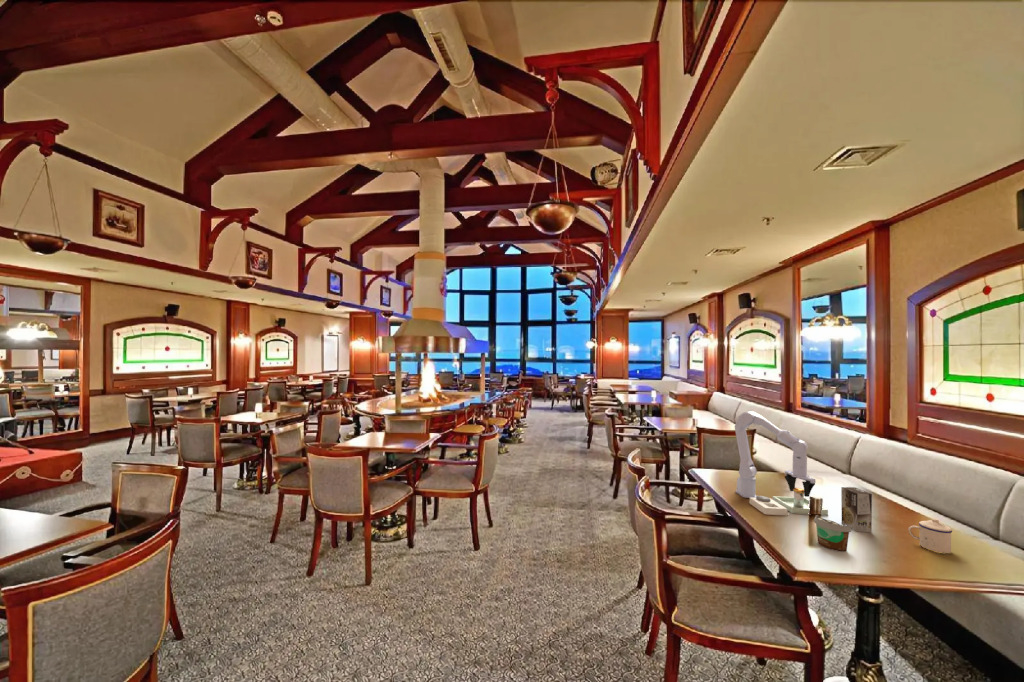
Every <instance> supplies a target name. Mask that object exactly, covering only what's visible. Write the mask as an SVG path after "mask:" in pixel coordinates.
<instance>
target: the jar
mask: <svg viewBox="0 0 1024 682" xmlns="http://www.w3.org/2000/svg"><path fill="white" fill-rule="evenodd" d="M792 492H793V497H794V505H793V506H794V507H796V508H803V507H804V498H805V496H804V488H801V487H795V488H793V491H792Z"/></svg>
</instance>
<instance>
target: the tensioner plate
mask: <svg viewBox="0 0 1024 682" xmlns="http://www.w3.org/2000/svg"><path fill="white" fill-rule="evenodd" d="M749 504H750V505H752V507H754V508H756V510H758V511H760V512H761V513H762V514H764V515H769V516H771V515H772V516H788V509H787V508H785V507H783V506H782V505H780V504H779V503H777V502H775V501H774V500H773V498H770V497H768V496H764V495H756V498H753V497H750V498H749Z"/></svg>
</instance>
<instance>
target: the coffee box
mask: <svg viewBox="0 0 1024 682" xmlns="http://www.w3.org/2000/svg"><path fill="white" fill-rule="evenodd" d="M840 494H841V495H840V496H841V525H843V526H850V528H851V530H854V531H856V532H861V533H863V532H865V533H872V532H873V531H872V528H873V527H872V525H873V523H872V520H873V519H872V518H873V516H872V514H873V512H872V511H873V510H872V509H873V507H872V506H873V502H872V501H873V496H872V495H873V494H872V493H871V492H867V491H865V490H863V489H860V488H859V487H858V488H857V487H854V486H853V487H852V486H847V487H846V486H845V487H841V493H840Z"/></svg>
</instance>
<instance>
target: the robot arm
mask: <svg viewBox="0 0 1024 682" xmlns="http://www.w3.org/2000/svg"><path fill="white" fill-rule="evenodd" d="M736 420H737V421H736V422H735V425H734V430H735V437H736V442H737V448H738V452H739V461H740V462H739V470H738V474H739V476H738V477H737V480H736V490H735V491H734V492H735V493H736V494H738V495H739V496H741V497H742V498H745V499H746V498H749V499H750V497H753V498H756V496H757V495H756V489H757V488H756V482H757V481H756V480H757V478H756V475H757V473H758V470H757V468H756V467H755V464H754V461H753V460H752V455H751V450H750V449H751V448H750V445H749V444H750V443H749V439H748V438H749V437H748V434H747V429H748V428H749V427H750V426H751V425H752V424H753V425H757V426H762V427H763V428H765V429H766V430H768V431H770V432H771V433H773V434H774V435H776V439H777V440H779V441H780V442H782V443H783V444H785V445H786V446H787V447H789V448H790V449H791V450H792V470H784V475H785V476H784V479H785V481H786V482H787V485H788V489H789V492H794V491H793V488H796V481H797V479H800V480H802V481H801V483H802V486H803V489H804V498H808V497H810V495H811V492H812V489H813V488H814V486H815V485H816V478H813V477H811V476H809V475H807V474H808V454H807V451H808V449H809V446H808V445H809V444H807V443H808V442H807V441H805V440H804V439H800V437H797V436H795V435H794V434H792V433H791V431H790V430H786V429H780V428H779V427H777V426H776V425H775V424H774V423H772V422H771V421H769V420H768V419H767V418H765V417H764V416H762V415H761V414H760V413H757V412H756V411H754V410H748V411H743V412H742V413H741V414H740V415H739V416H738V417H737V419H736Z"/></svg>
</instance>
